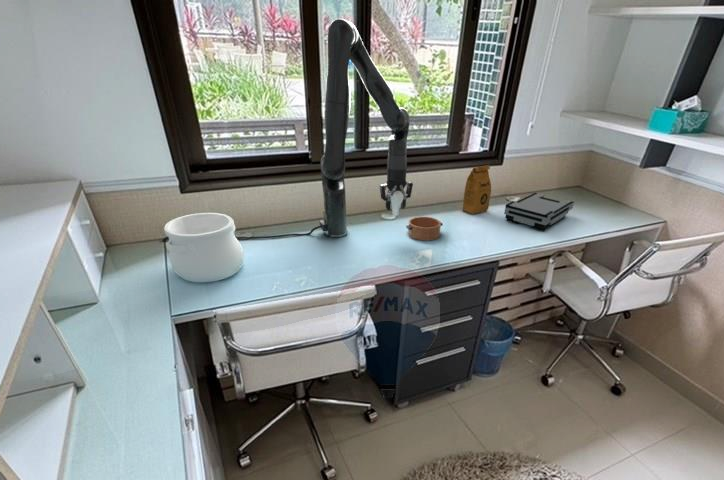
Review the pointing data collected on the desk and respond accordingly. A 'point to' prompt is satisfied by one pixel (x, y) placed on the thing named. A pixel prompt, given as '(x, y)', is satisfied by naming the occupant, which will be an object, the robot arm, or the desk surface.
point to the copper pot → (424, 228)
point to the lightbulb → (396, 202)
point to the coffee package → (477, 190)
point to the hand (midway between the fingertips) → (395, 208)
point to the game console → (537, 211)
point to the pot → (204, 247)
